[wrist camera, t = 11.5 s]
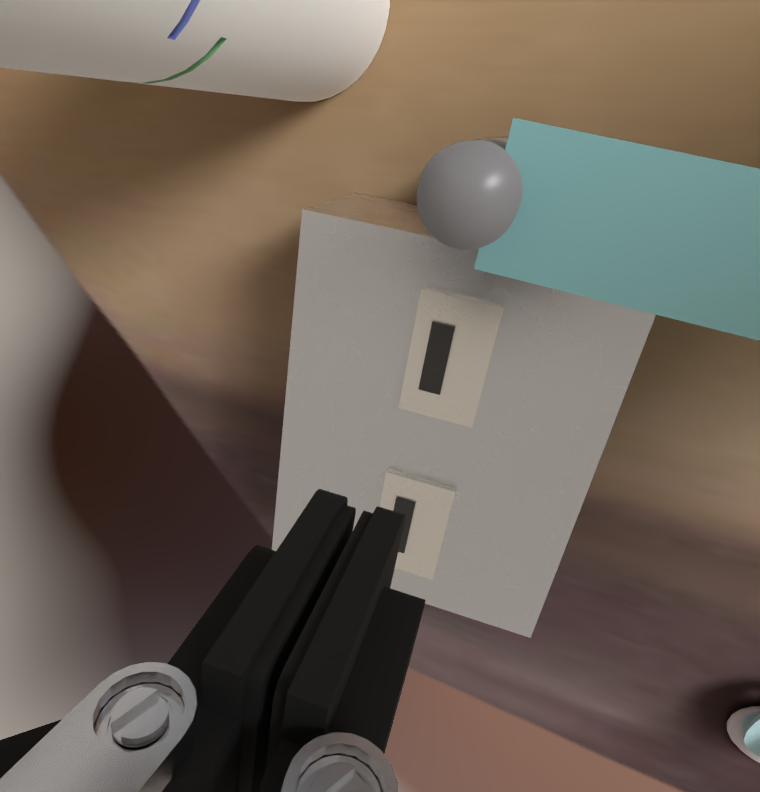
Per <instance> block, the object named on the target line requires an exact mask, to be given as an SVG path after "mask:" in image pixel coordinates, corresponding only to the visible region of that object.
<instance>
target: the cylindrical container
mask: <svg viewBox="0 0 760 792" xmlns="http://www.w3.org/2000/svg"><path fill="white" fill-rule="evenodd" d="M389 9H390V0H0V68H8V69H16V70H25V71H34V72H43V73H52V74H60V75H69V76H78V77H87V78H96V79H104V80H113V81H124V82H131V83H139V84H148V85H157V86H165V87H174V88H183V89H191V90H200V91H209V92H217V93H226V94H235V95H243V96H252V97H261V98H269V99H278V100H287V101H295V102H315V101H319V100H323V99H327V98H331V97H333V96H334V95H336V94H338V93H340V92H342V91H344V90H346V89H347V88H348V87H349V86H351V85H352V84H353V83H354V82H355V81H356V80H358V79H359V78H360V76H361V75H362V74H363V73H364V72H365V70H366V69H367V68H368V67H369V65H370V64H371V62H372V60H373V58H374V57H375V55H376V53H377V51H378V49H379V47H380V44H381V41H382V39H383V36H384V33H385V30H386V26H387V20H388V15H389Z"/></svg>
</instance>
